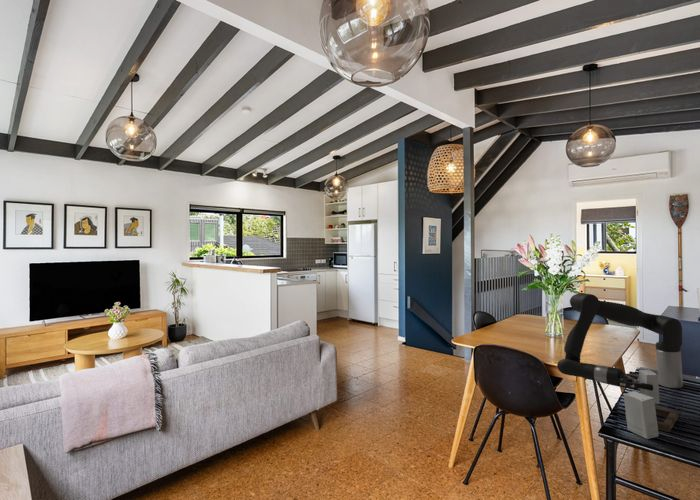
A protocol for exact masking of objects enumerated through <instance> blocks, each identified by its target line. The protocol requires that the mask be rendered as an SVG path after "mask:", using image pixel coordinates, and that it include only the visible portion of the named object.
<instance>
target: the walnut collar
mask: <svg viewBox="0 0 700 500" xmlns="http://www.w3.org/2000/svg"><path fill="white" fill-rule="evenodd" d="M655 410H656V416H659V417H665V418H664V420H663V421H659V420H657V425H658V431H659V430H660V431H662V432H663V431H664V432H667V433H670V432H671V430H672V428H673V427H674V425H675V424H676V422H677V421H678V420H679V419H678V418H679V412H678V411H675V410H671V409H667V408H663V407H659V406H655ZM624 419H625V421H626V422H627V419H626V414H625V416H624Z"/></svg>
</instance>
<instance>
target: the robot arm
mask: <svg viewBox="0 0 700 500" xmlns="http://www.w3.org/2000/svg"><path fill="white" fill-rule="evenodd" d="M569 304H570V305H569V306H570V307H571V308H572V309H573V310H574V311H575V312H578V313H579V317H578V319H577V321H576V323H575V324H574V326H573V327H572V329H570V331H569V333H568V335H567V337H566V341H565V344H564V348H563V351H564V353H565V357H564V358H563V359H560V360H559V361H558V362H557V364H556V365H557V366H556V367H557V370H558V371H559V373H561V374H562V375H565V376H571V377H572V376H573V377H576V378H577V377H578V378H583V379H585V380H589V381H594V382H598V383H600V384H605V385H610V386H615V387H619V388H624V389H629V390H633V391H638V390H640V389H641V388H642V389H646V390H651V391H652V390H653V385H651V384H646V383H640V380H639V372H637V371H629V372H628V373H624V372H623V370H622V369H621V368H618V367H612V366H607V365H600V364H599V365H598V364H594V363H588V362H587V363H586V362H582V361H581V353H582V352H583V351H582V350H583V347H584V345H585V343H584V342H585V340H586V337H587V334H588V333H589V329H590V327H591V325H592V323H593V322H594V319H595V317H596V316H598V317H601V318H604V319H607V320H609V321H612V322H614V323H619V324H622V325H625V326H631V327H640V328H643V329H645V330H648V331H651V332H653V333H656V334H658V335H661V336H662V340H660V341H657V342H656V343H655V355H656V357H655V358H656V369H657V375H658V384H659V385H661V386H662V387H666V388H671V389H672V388H673V389H679V388H683V387H684V381H683V380H684V378H683V364H682V352H681V350H682V349H681V347H682V345H683V327H682V324H681V323H682V322H680V320H679V319H677V318H675V317H670V316H666V315H660V314H655V313H654V314H653V313H648V312H644V311H642V310H640V309H638V308H636V307H634V306H631V305H627V304H623V303H619V302H612V301H605V300H600V299H599V298H598V296H596V295H594V294H593V293H592V294H591V293H582V292H581V293H575V294H574V295H572V296H571V297H570V299H569Z"/></svg>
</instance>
